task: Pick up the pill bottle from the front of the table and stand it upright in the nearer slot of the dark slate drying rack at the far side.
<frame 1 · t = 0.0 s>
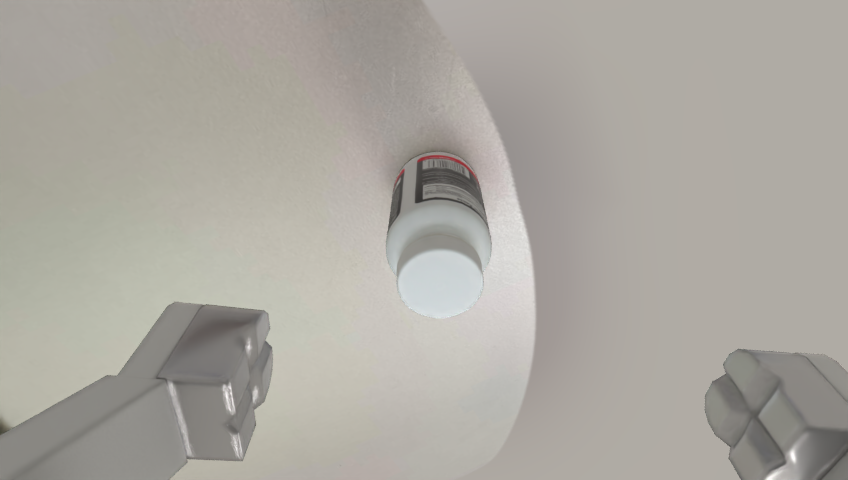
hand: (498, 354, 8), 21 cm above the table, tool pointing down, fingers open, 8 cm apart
pill bottle: (436, 188, 30), on the table
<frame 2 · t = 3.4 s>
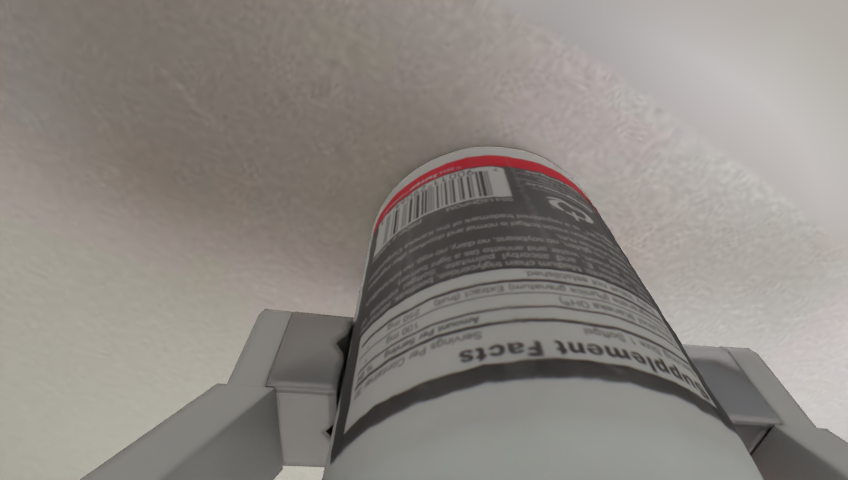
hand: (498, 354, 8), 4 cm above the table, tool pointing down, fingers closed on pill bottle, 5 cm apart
pill bottle: (481, 240, 12), on the table, touching gripper
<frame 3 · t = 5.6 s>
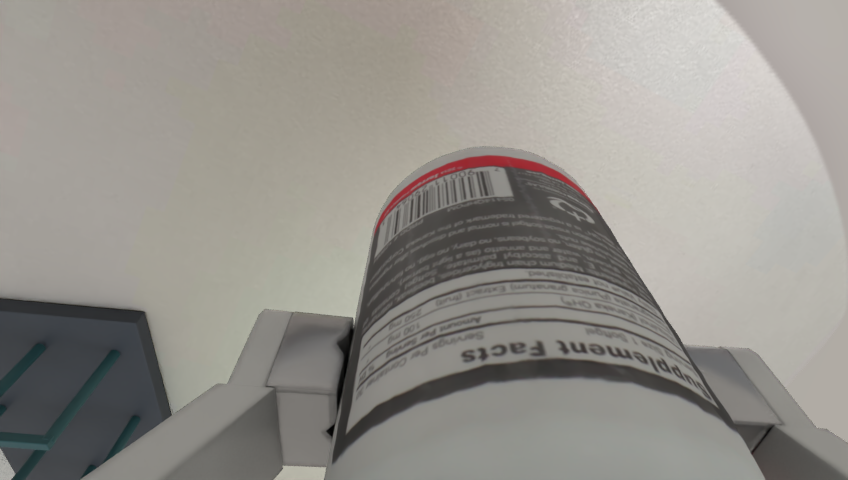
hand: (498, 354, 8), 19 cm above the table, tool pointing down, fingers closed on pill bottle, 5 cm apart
pill bottle: (482, 240, 12), point 15 cm above the table, touching gripper
drying rack: (79, 400, 38), on the table
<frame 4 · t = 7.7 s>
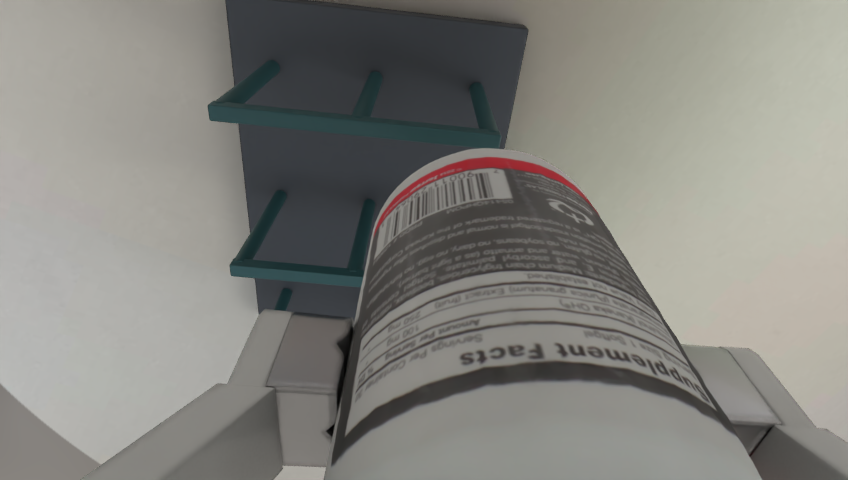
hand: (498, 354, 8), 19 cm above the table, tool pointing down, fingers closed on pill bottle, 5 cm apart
pill bottle: (481, 241, 12), point 15 cm above the table, touching gripper
drying rack: (371, 194, 28), on the table
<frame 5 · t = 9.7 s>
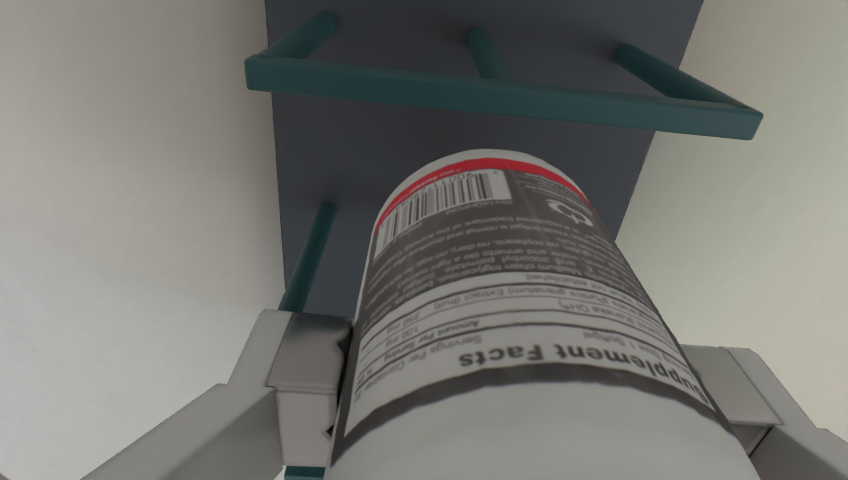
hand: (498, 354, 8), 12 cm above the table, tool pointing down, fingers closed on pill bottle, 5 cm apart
pill bottle: (481, 242, 12), point 8 cm above the table, touching gripper
drying rack: (449, 206, 21), on the table
when the fingers open (5 cm above the table, at t = 11.9 s): pill bottle stays where it is, resting on drying rack.
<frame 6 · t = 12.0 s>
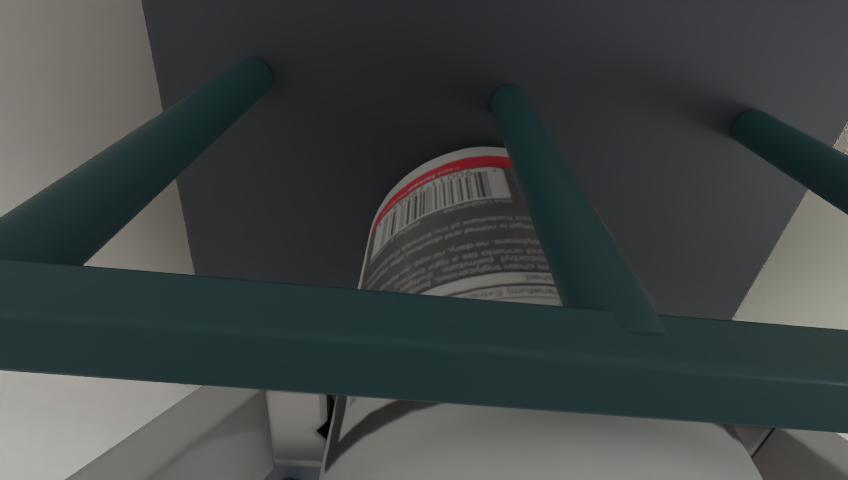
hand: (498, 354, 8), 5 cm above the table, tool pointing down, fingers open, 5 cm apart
pill bottle: (480, 241, 12), point 1 cm above the table, touching drying rack
drying rack: (457, 322, 14), on the table
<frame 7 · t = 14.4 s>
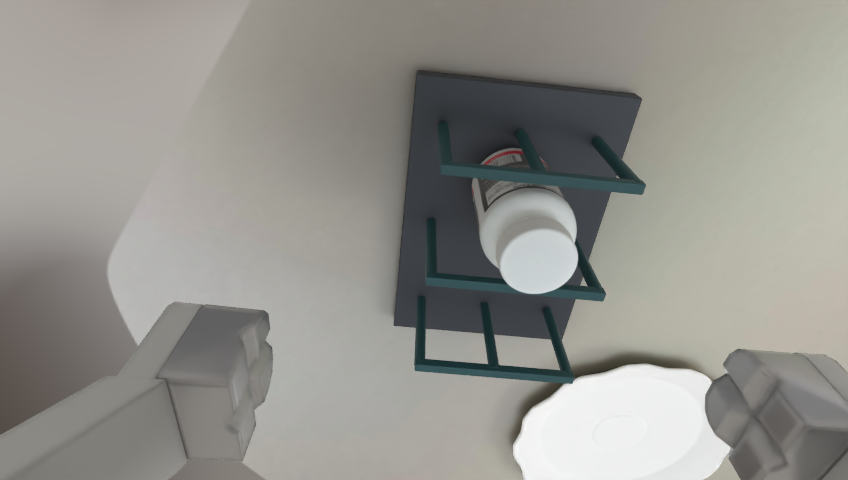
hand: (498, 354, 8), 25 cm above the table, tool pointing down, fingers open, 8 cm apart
plate: (618, 429, 47), on the table
pill bottle: (510, 182, 33), point 1 cm above the table, touching drying rack
drying rack: (498, 220, 35), on the table
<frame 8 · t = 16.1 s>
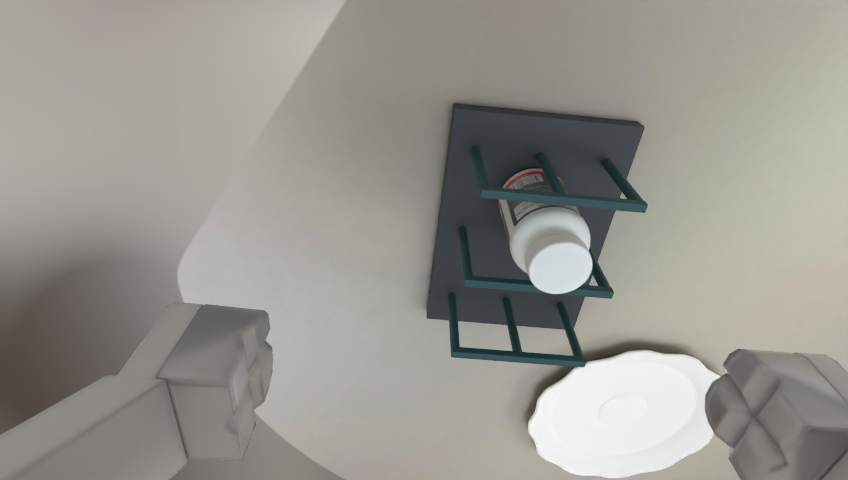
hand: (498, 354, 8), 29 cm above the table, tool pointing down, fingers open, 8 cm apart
plate: (621, 407, 53), on the table
pill bottle: (531, 196, 38), point 1 cm above the table, touching drying rack
drying rack: (519, 227, 41), on the table
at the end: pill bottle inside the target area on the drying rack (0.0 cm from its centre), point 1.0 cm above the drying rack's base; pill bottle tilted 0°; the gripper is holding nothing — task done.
